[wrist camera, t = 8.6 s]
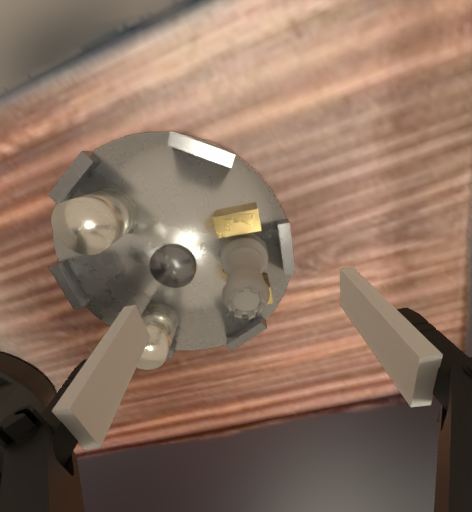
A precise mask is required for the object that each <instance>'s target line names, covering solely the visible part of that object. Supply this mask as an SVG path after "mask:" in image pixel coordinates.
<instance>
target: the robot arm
mask: <svg viewBox="0 0 472 512" xmlns="http://www.w3.org/2000/svg"><path fill="white" fill-rule="evenodd" d="M340 305H341V307H342V308H343V310H344V311H345V313H346V314H347V316H348V317H349V319H350V320H351V321H352V323H353V324H354V326H355V327H356V329H357V330H358V332H359V333H360V334H361V336H362V337H363V339H364V340H365V342H366V343H367V345H368V346H369V347H370V349H371V350H372V352H373V353H374V355H375V356H376V358H377V359H378V361H379V362H380V363H381V365H382V366H383V368H384V369H385V371H386V372H387V374H388V375H389V376H390V378H391V379H392V381H393V382H394V384H395V385H396V387H397V388H398V389H399V391H400V392H401V394H402V395H403V397H404V398H405V400H406V401H407V403H408V404H409V405H410V407H417V406H425V405H431V402H432V398H433V395H434V396H435V397H436V399H437V400H438V401H439V402H440V404H441V409H440V412H439V416H438V420H437V422H439V423H440V424H439V440H438V455H437V472H436V489H435V504H434V512H472V358H471V357H468V356H467V355H466V354H464V353H463V352H462V351H461V350H460V349H459V348H458V347H456V346H455V345H454V344H453V343H452V342H451V341H450V340H448V339H447V338H446V337H445V336H444V335H443V334H442V333H440V332H439V331H438V330H436V328H435V327H434V326H433V325H431V324H430V323H428V321H427V320H426V319H425V318H423V317H422V316H421V315H420V314H419V313H417V312H415V311H413V310H411V309H409V308H402V309H396V308H395V307H394V306H393V305H392V304H390V303H389V302H388V301H387V300H386V299H385V298H384V297H383V296H382V295H381V294H380V293H379V292H378V291H377V290H376V289H375V288H374V287H373V286H372V285H371V284H370V283H369V282H368V281H367V280H366V279H365V278H364V277H363V276H362V275H361V274H360V273H359V272H358V271H357V270H356V269H355V268H354V267H348V268H343V269H340ZM149 338H150V335H149V333H148V331H147V329H146V326H145V324H144V322H143V320H142V318H141V316H140V313H139V311H138V309H137V307H136V305H131V306H125V307H124V308H123V309H122V311H121V312H120V314H119V315H118V316H117V318H116V319H115V321H114V322H113V324H112V325H111V327H110V328H109V329H108V331H107V332H106V334H105V335H104V337H103V338H102V339H101V341H100V342H99V344H98V345H97V347H96V348H95V349H94V351H93V352H92V354H91V355H90V357H89V358H88V359H86V360H84V361H82V362H81V363H80V364H79V365H78V366H77V367H76V368H75V369H74V370H73V372H72V373H71V374H70V376H69V377H68V380H66V381H65V383H64V384H63V385H62V388H60V389H59V391H58V392H57V394H56V393H55V391H54V389H53V387H52V385H51V384H50V382H49V381H48V380H47V379H46V378H45V377H44V376H43V375H42V374H41V373H40V372H38V371H37V370H36V369H34V368H33V367H31V366H30V365H28V364H26V363H25V362H23V361H21V360H19V359H16V358H14V357H11V356H9V355H6V354H3V353H0V512H85V509H84V503H83V496H82V490H81V483H80V477H79V470H78V465H77V457H76V455H75V453H74V451H73V450H74V448H75V446H76V444H77V443H79V444H80V445H81V447H82V448H83V449H84V450H86V449H93V448H101V445H102V443H103V441H104V439H105V436H106V434H107V432H108V430H109V428H110V425H111V423H112V421H113V419H114V416H115V414H116V412H117V410H118V407H119V405H120V403H121V401H122V398H123V396H124V394H125V392H126V389H127V387H128V385H129V383H130V381H131V378H132V376H133V374H134V372H135V369H136V367H137V365H138V363H139V360H140V358H141V356H142V354H143V351H144V349H145V347H146V345H147V343H148V340H149Z"/></svg>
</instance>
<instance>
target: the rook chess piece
mask: <svg viewBox="0 0 472 512" xmlns="http://www.w3.org/2000/svg"><path fill="white" fill-rule="evenodd" d="M221 263H222V266H223V268H224V270H225V272H226V273H227V274H228V275H229V276H228V278H227V282H226V284H225V286H224V288H223V289H222V299H223V301H224V303H225V305H226V306H227V308H228V310H229V312H230V311H234V312H235V314H234V316H235V317H237V318H240V319H241V318H242V315H248V319H252V318H256V316H255V313H256V312H260V313H261V314H262V312H263V311H264V309H265V306H266V304H267V303H268V301H269V297H270V291H269V288H268V285H267V284H266V283H265V281H264V278H263V275H262V273H263V271H264V270H265V268H266V266H267V264H268V249H267V246H266V243H265V242H264V241H263V240H262V239H261V238H260V237H259V236H257V235H255V234H253V233H246V234H241V235H235V236H230V237H229V238H228V239H227V240H226V241H225V242H224V244H223V246H222V248H221Z"/></svg>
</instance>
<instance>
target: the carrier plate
mask: <svg viewBox="0 0 472 512" xmlns="http://www.w3.org/2000/svg"><path fill="white" fill-rule="evenodd" d="M48 196H49V197H50V198H51V199H53V200H54V201H55V202H56V206H55V209H54V210H53V213H52V217H51V223H52V228H53V241H54V247H55V251H56V256H57V259H58V261H57V262H55V263H54V264H52V265H51V266H49V269H50V271H51V272H52V274H53V276H54V277H55V279H56V281H57V282H58V284H59V286H60V287H61V289H62V290H63V292H64V294H65V295H66V297H67V299H68V300H69V302H70V304H71V305H72V307H73V309H79V308H83V307H84V306H86V307H87V308H88V309H89V310H90V311H91V312H92V313H93V314H94V315H95V316H96V317H98V318H99V319H100V320H101V321H103V322H104V323H105V324H107V325H108V326H110V327H111V325H112V324H113V322H114V321H115V319H116V318H117V316H118V315H119V314H120V312H121V311H122V309H123V308H124V307H125V306H131V305H136V307H137V309H138V311H139V313H140V316H141V318H142V320H143V322H144V324H145V326H146V329H147V331H148V333H149V335H150V338H149V340H148V343H147V345H146V347H145V349H144V351H143V354H142V356H141V358H140V360H139V363H138V365H137V367H136V368H139V369H145V370H151V369H156V368H158V367H160V366H162V365H163V364H164V362H165V360H166V357H168V358H173V354H174V351H175V350H202V349H209V348H214V347H218V346H221V345H225V344H226V346H227V347H228V348H229V349H230V350H231V351H232V350H234V349H235V348H237V347H238V346H240V345H241V344H243V343H245V342H246V341H248V340H249V339H251V338H252V337H254V336H256V335H257V334H259V333H260V332H262V331H263V330H265V329H267V324H266V319H267V318H268V317H269V316H270V315H271V313H272V312H273V311H274V310H275V308H276V307H277V305H278V304H279V302H280V300H281V299H282V297H283V295H284V292H285V290H286V288H287V285H288V282H289V278H290V274H295V266H294V257H293V247H292V237H291V228H290V222H289V220H288V219H286V217H285V214H284V212H283V210H282V208H281V206H280V204H279V202H278V200H277V198H276V197H275V195H274V194H273V192H272V191H271V189H270V188H269V186H268V185H267V184H266V182H265V181H264V180H263V179H262V178H261V177H260V176H259V175H258V173H257V172H256V171H255V170H254V169H253V168H252V167H250V166H249V165H248V164H247V163H246V162H244V161H243V160H242V159H241V158H239V157H238V156H236V154H233V153H231V152H230V151H228V150H227V149H225V148H223V147H220V146H218V145H216V144H214V143H212V142H209V141H207V140H203V139H200V138H196V137H193V136H189V135H184V134H179V133H177V132H174V131H170V132H146V133H139V134H133V135H128V136H125V137H122V138H119V139H116V140H113V141H111V142H109V143H107V144H105V145H103V146H101V147H99V148H97V149H96V150H94V151H93V152H92V151H82V152H81V153H80V154H79V156H78V157H77V158H76V160H75V161H74V162H73V163H72V165H71V166H70V167H69V169H68V170H67V171H66V173H65V174H64V175H63V176H62V178H61V179H60V180H59V182H58V183H57V184H56V185H55V187H54V188H53V189H52V191H51V192H50V193H49V194H48ZM246 233H253V234H255V235H257V236H259V237H260V238H261V239H262V240H263V241H264V242H265V243H266V246H267V249H268V264H267V266H266V268H265V270H264V271H263V273H262V275H263V278H264V281H265V283H266V284H267V285H268V288H269V291H270V297H269V301H268V303H267V304H266V306H265V309H264V311H263V312H262V314H261V313H260V312H256V313H255V316H256V318H252V319H248V315H242V318H241V319H240V318H237V317H235V316H234V314H235V312H234V311H230V312H229V310H228V308H227V306H226V305H225V303H224V301H223V299H222V289H223V288H224V286H225V284H226V282H227V278H228V276H229V275H228V274H227V273H226V272H225V270H224V268H223V266H222V263H221V248H222V246H223V244H224V242H225V241H226V240H227V239H228V238H229V237H230V236H235V235H241V234H246Z"/></svg>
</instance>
